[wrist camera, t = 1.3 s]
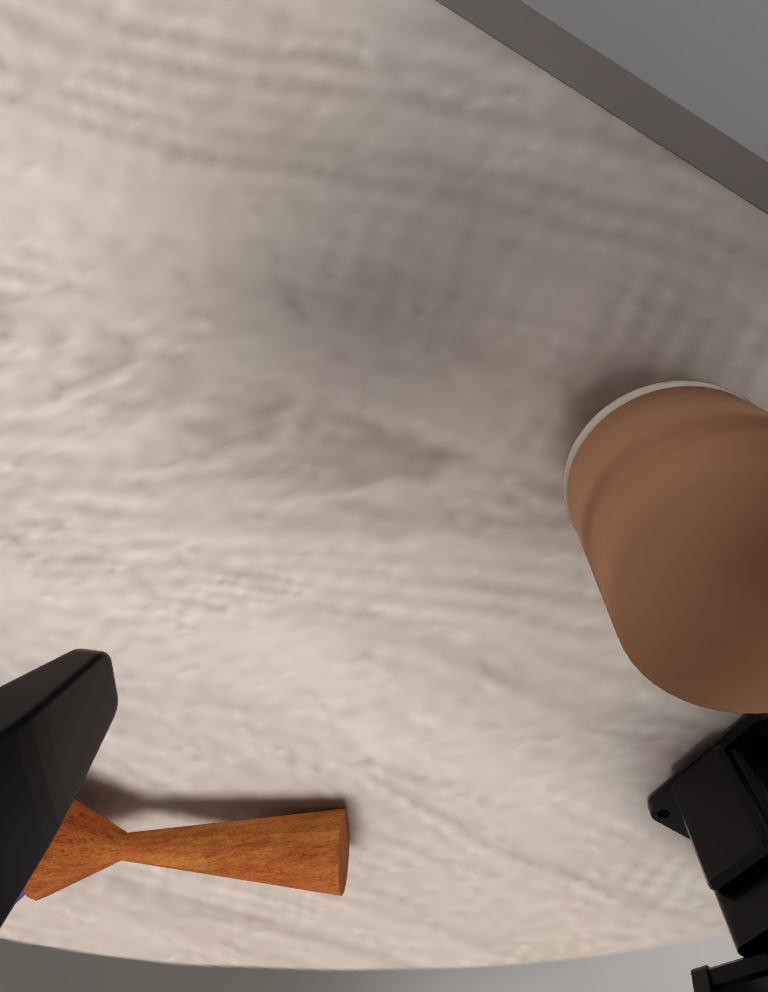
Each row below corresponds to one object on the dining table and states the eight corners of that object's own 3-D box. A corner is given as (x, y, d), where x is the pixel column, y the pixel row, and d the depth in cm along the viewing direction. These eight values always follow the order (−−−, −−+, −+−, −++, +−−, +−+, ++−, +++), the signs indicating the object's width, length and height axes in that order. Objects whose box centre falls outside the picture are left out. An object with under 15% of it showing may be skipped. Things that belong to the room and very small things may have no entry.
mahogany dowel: (771, 419, 17) (1029, 557, 9) (652, 552, 20) (779, 757, 12) (622, 327, 17) (757, 389, 9) (516, 474, 19) (550, 629, 11)
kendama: (343, 958, 25) (-87, 943, 26) (356, 818, 30) (-6, 813, 31) (327, 894, 21) (-163, 882, 23) (344, 749, 26) (-59, 747, 28)
